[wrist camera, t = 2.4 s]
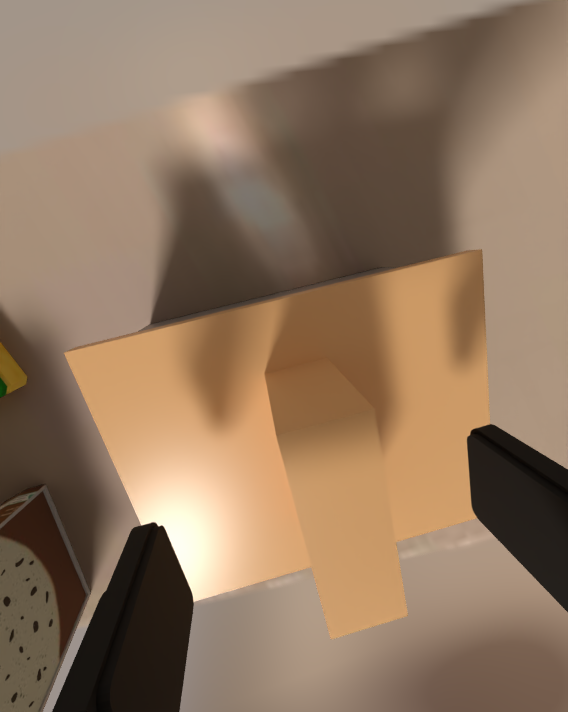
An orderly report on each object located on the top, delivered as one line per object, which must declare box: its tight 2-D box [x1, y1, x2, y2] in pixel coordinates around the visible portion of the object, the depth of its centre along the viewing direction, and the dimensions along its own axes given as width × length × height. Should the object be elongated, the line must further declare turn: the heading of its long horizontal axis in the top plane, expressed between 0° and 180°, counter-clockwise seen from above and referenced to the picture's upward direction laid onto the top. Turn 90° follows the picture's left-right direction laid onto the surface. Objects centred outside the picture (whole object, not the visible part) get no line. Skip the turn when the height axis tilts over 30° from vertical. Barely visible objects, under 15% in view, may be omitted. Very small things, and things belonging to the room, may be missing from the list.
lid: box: [64, 249, 490, 639], centre depth 12 cm, size 15×12×6 cm
